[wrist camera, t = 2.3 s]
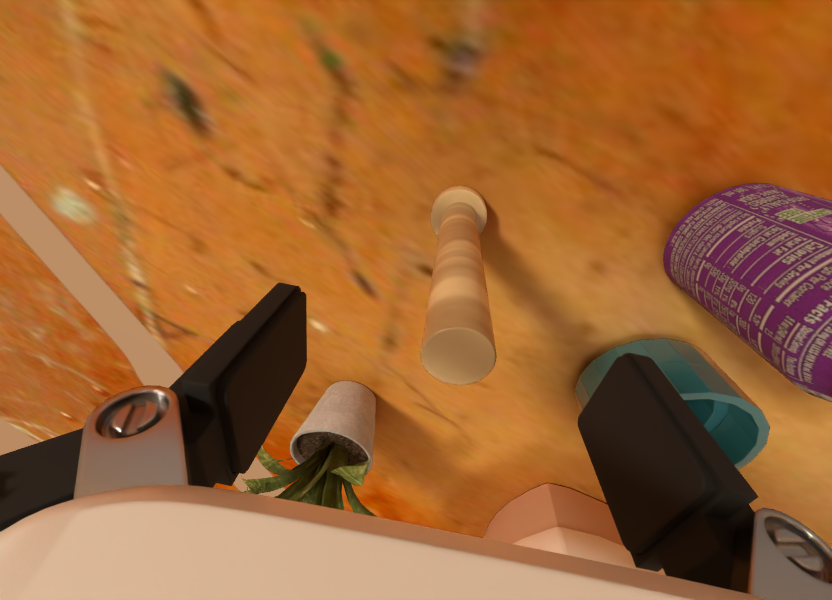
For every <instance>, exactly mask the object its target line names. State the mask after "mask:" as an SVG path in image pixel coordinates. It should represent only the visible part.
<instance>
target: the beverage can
mask: <svg viewBox="0 0 832 600" xmlns="http://www.w3.org/2000/svg"><path fill="white" fill-rule="evenodd" d="M663 261H664V267H665V270H666V272H667V274H668V276H669V278H670V279H671V280H672V281H673V282H674V283H675V284H677V285H678V286H679V287H680V288H681V289H682V290H684V291H685V292H686V293H687V294H688V295H689V296H691V297H692V298H693V299H694V300H695V301H697V302H698V303H699V304H700V305H701V306H702V307H704V308H705V309H706V310H707V311H708V312H710V313H711V314H712V315H713V316H714V317H715V318H717V319H718V320H719V321H720V322H721V323H723V324H724V325H725V326H726V327H727V328H728V329H730V330H731V331H732V332H733V333H734V334H735V335H737V336H738V337H739V338H740V339H741V340H743V341H744V342H745V343H746V344H747V345H748V346H750V347H751V348H752V349H753V350H754V351H756V352H757V353H758V354H759V355H760V356H761V357H763V358H764V359H765V360H766V361H767V362H769V363H770V364H771V365H772V366H773V367H774V368H776V369H777V370H778V371H779V372H780V373H781V374H783V375H784V376H785V377H786V378H787V379H789V380H790V381H791V382H792V383H793V384H795V385H796V386H797V387H799V388H800V389H802V390H803V391H805V392H807V393H809V394H811V395H813V396H816V397H819V398H822V399H824V400H827V401H830V402H832V201H831V200H827V199H824V198H820V197H817V196H813V195H809V194H806V193H802V192H798V191H795V190H791V189H787V188H784V187H780V186H776V185H772V184H766V183H750V184H743V185H738V186H735V187H731V188H728V189H725V190H723V191H720V192H718V193H716V194H714V195H712V196H710V197H708V198H707V199H705V200H703V201H702V202H700V203H699V204H697V205H696V206H695V207H693V208H692V209H691V210H690V211H689V212H688V213H687V214H686V215H685V216H684V217H683V218H682V219H681V220H680V221H679V222H678V223H677V225H676V226H675V227H674V229H673V231H672V232H671V234H670V236H669V238H668V240H667V243H666V246H665V249H664V257H663Z"/></svg>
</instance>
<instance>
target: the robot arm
mask: <svg viewBox="0 0 832 600" xmlns="http://www.w3.org/2000/svg"><path fill="white" fill-rule="evenodd" d="M306 362H307V334H306V294H305V293H304V292H301V289H300V287H299V286H294V285H289V284H284V283H278V284H277V285H276V286H275V287H274V288H273V289H272V290H271V291H270V292H269V293H268V294H267V295H266V296H265V297H264V298H263V299H262V300H261V301H260V302H259V303H258V304H257V305H256V306H255V307H254V308H253V309H252V310H251V311H250V312H249V313H248V314H247V315H246V316H245V317H244V318H243V319H242V320H241V321H237V322H236V323H234V324H233V325H232V326H231V327H230V328H229V329H228V330H227V331H226V332H225V333H224V334H223V335H222V336H221V337H220V338H219V339H218V340H217V341H216V342H215V343H214V344H213V345H212V346H211V347H210V348H209V349H208V350H207V351H206V352H205V353H204V354H203V355H202V356H201V357H200V358H199V359H198V360H197V361H196V362H195V363H194V364H193V365H192V366H191V367H190V368H189V369H188V370H187V371H186V372H185V373H184V374H183V375H182V376H181V377H180V378H178V380H176V381H175V383H174V384H172V385H171V386H170V387H169V388H165V387H162V386H142V387H136V388H132V389H129V390H126V391H123V392H120V393H118V394H116V395H114V396H112V397H110V398H108V399H107V400H105V401H104V402H103V403H101V404H100V405H99V406H97V407H96V408H95V409H94V410H93V412H92V413H91V414H90V415H89V416H88V417H87V420H86V422H85V425H84V427H83V428H82V429H79V430H76V431H73V432H70V433H67V434H64V435H61V436H58V437H55V438H52V439H49V440H46V441H43V442H40V443H37V444H34V445H31V446H28V447H25V448H22V449H19V450H16V451H13V452H10V453H7V454H4V455H1V456H0V600H832V549H831V548H830V547H829V546H828V545H827V544H826V543H825V542H824V541H823V540H822V539H821V538H820V537H819V536H817V535H816V534H815V533H814V532H813V531H811V530H810V529H809V528H807V527H806V526H804V525H803V524H802V523H800V522H799V521H797V520H795V519H794V518H792V517H790V516H788V515H786V514H784V513H782V512H779V511H776V510H774V509H767V508H762V509H760V510H757V511H756V512H754V511H753V510H752V508H751V507H750V506H749V503H751V502H752V501H753V500H755V499H756V498H757V497H758V496H757V494H756V493H755V492H754V490H753V489H752V488H751V487H750V485H749V484H748V483H747V481H746V480H745V479H744V477H743V476H742V475H741V474H740V472H739V471H738V470H737V468H736V467H735V466H734V464H733V463H732V462H731V461H730V459H729V458H728V457H727V455H726V454H725V453H724V452H723V450H722V449H721V448H720V446H719V445H718V444H717V442H716V441H715V440H714V439H713V437H712V436H711V435H710V433H709V432H708V431H707V429H706V428H705V427H704V426H703V424H702V423H701V422H700V420H699V419H698V418H697V417H696V415H695V414H694V413H693V411H692V410H691V409H690V407H689V406H688V405H687V404H686V402H685V401H684V400H683V398H682V397H681V396H680V394H679V393H678V392H677V391H676V389H675V388H674V387H673V385H672V384H671V383H670V382H669V380H668V379H667V378H666V376H665V375H664V374H663V372H662V371H661V370H660V369H659V367H658V366H657V365H656V363H655V362H654V361H653V360H652V359H651V358H650V357H648V356H643V355H638V354H633V353H625V354H624V355H623V356H619V357H617V358H616V360H615V361H614V363H613V364H612V366H611V367H610V369H609V370H608V372H607V373H606V375H605V376H604V378H603V380H602V381H601V383H600V384H599V386H598V387H597V389H596V390H595V392H594V393H593V395H592V397H591V398H590V400H589V401H588V403H587V404H586V406H585V407H584V409H583V410H582V412H581V414H580V415H579V418H578V427H579V430H580V433H581V435H582V438H583V441H584V443H585V446H586V449H587V451H588V454H589V456H590V459H591V462H592V464H593V467H594V470H595V472H596V475H597V478H598V480H599V483H600V485H601V488H602V491H603V493H604V496H605V499H606V501H607V504H608V506H609V509H610V512H611V514H612V517H613V520H614V522H615V525H616V528H617V530H618V533H619V535H620V538H621V541H622V543H623V545H624V547H625V548H626V549H627V550H628V551H629V552H630V553H631V556H632V558H633V561H634V564H635V566H636V568H641V569H646V570H651V571H656V572H658V571H660V570H661V569H662V568H663V570H664V572H665V574H666V575H661V574H656V573H651V572H646V571H642V570H637V569H632V568H627V567H622V566H617V565H613V564H608V563H603V562H598V561H593V560H588V559H584V558H579V557H574V556H569V555H564V554H559V553H554V552H550V551H545V550H540V549H535V548H530V547H525V546H520V545H515V544H510V543H505V542H500V541H495V540H490V539H485V538H480V537H475V536H470V535H465V534H460V533H455V532H450V531H445V530H440V529H435V528H430V527H425V526H420V525H415V524H410V523H405V522H400V521H395V520H390V519H385V518H380V517H374V516H369V515H364V514H359V513H354V512H349V511H344V510H339V509H334V508H329V507H323V506H318V505H313V504H308V503H302V502H297V501H291V500H285V499H280V498H274V497H268V496H263V495H257V494H251V493H246V492H240V491H234V490H226V489H218V488H213V487H214V485H215V483H219V484H224V485H229V486H232V484H233V482H234V481H235V479H236V477H237V476H238V474H239V473H242V474H244V473H245V472H246V471H247V470H248V469H249V467H250V465H251V464H252V462H253V460H254V458H255V457H256V455H257V453H258V451H259V450H260V448H261V446H262V444H263V443H264V441H265V439H266V437H267V436H268V434H269V432H270V430H271V429H272V427H273V425H274V423H275V422H276V420H277V418H278V416H279V414H280V413H281V411H282V409H283V407H284V406H285V404H286V402H287V400H288V399H289V397H290V395H291V393H292V392H293V390H294V388H295V386H296V385H297V383H298V381H299V379H300V378H301V376H302V374H303V372H304V370H305V367H306Z"/></svg>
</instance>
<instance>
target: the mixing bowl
mask: <svg viewBox="0 0 832 600" xmlns="http://www.w3.org/2000/svg"><path fill="white" fill-rule="evenodd" d="M625 353H633V354H638V355H643V356H648V357H650V358H651V359H652V360H653V361H654V362H655V363H656V365H657V366H658V367H659V369H660V370H661V371H662V372H663V374H664V375H665V376H666V378H667V379H668V380H669V382H670V383H671V384H672V385H673V387H674V388H675V389H676V391H677V392H678V393H679V394H680V396H681V397H682V398H683V400H684V401H685V402H686V404H687V405H688V406H689V407H690V409H691V410H692V411H693V413H694V414H695V415H696V417H697V418H698V419H699V420H700V422H701V423H702V424H703V426H704V427H705V428H706V429H707V431H708V432H709V433H710V435H711V436H712V437H713V439H714V440H715V441H716V442H717V444H718V445H719V446H720V448H721V449H722V450H723V452H724V453H725V454H726V455H727V457H728V458H729V459H730V461H731V462H732V463H733V464H734V466H735V467H736V468H737V470H738V469H740V468H741V467H743V466H745V465H746V464H748V463H750V462H751V461H752V460H753V459H754V458H755V457H756V456H757V455H758V454H759V453H760V451H761V450H762V449H763V448H764V447H765V446H766V444H767V439H768V435H769V430H770V426H769V424H768V422H767V420H766V418H765V416H764V414H763V412H762V410H761V409H760V408H759V407H758V406H757V405H756V404H755V403H754V402H753V401H752V400H751V399H750V398H749V397H748V396H747V395H746V394H745V393H744V392H743V391H742V390H741V389H740V388H739V387H738V386H737V385H736V383H735V382H734V381H733V380H732V379H731V378H730V377H729V376H728V375H727V374H726V373H725V372H724V371H723V370H722V369H721V368H720V367H719V366H718V365H717V364H716V363H715V362H714V361H713V360H712V359H711V358H710V357H709V356H708V355H707V354H706V353H705V352H703V351H701V350H700V349H698V348H697V347H695V346H693V345H692V344H690V343H687V342H682V341H677V340H672V339H668V338H662V339H647V340H638V341H634V342H631V343H628V344H625V345H622V346H618V347H615V348H613V349H611V350H609V351H608V352H606V353H604V354H603V355H601V356H599V357H598V358H596V359H594V361H592V362H591V363H590V364H589V365H588V367H587V368H586V369H585V370H584V371H583V372H582V373H581V374H580V376H579V379H578V382H577V385H576V388H575V397H576V402H577V406H578V409H579V411H580V414H581V412H582V410H583V409H584V407H585V406H586V404H587V403H588V401H589V400H590V398H591V397H592V395H593V393H594V392H595V390H596V389H597V387H598V386H599V384H600V383H601V381H602V380H603V378H604V376H605V375H606V373H607V372H608V370H609V369H610V367H611V366H612V364H613V363H614V361H615V360H616V358H617V357H619V356H623V355H624V354H625Z"/></svg>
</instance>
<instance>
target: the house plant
mask: <svg viewBox="0 0 832 600" xmlns="http://www.w3.org/2000/svg"><path fill="white" fill-rule="evenodd" d="M375 413H376V398H375V396H374V394H373V393H372V392H371V391H370V390H369V389H368V388H367V387H365V386H364V385H361V384H359V383H356V382H352V381H340V382H336V383H334V384H332V385H331V386H330V387H329V388H328V389H327V390H326V392H325V393H324V395H323V396H322V398H321V399H320V400H319V402H318V403H317V405H316V406H315V407H314V409H313V410H312V412H311V413H310V414H309V416H308V417H307V419H306V420H305V421H304V423H303V424H302V426H301V427H300V428H299V430H298V431H297V433H296V434H295V435H294V437H293V439H292V440H291V442H290V452H291V455H292V457H293V458H290V459H294V460H295V461H296V463H297V464H298V466H296V467H295V468H293V469H292V470H288V469H286V468H284V467H283V466H281V465H280V464H279V463H277V462H280V461H284V460H277V459H274V458H272V457H271V456H270V455H269V454H268V453H267V452H266V451H265V450H264V448H263V446H261V448H260V450H259V452H258V455H259V459H260V461H261V463H262V465H263V466H264V467H265V468H266V469H267V470H269V471H271V472H273V473H275V474H278V475H281V476H277V477H271V478H263V479H251V480H245V479H243V481H244V482H245V483H246V484H247V486H248V487H249V488H250V489H251V490H248V489H247V491H245V492H246V493H251V494H259V493H264V492H270V491H274V490H277V489H279V488H282V487H285V486H287V485H288V484H290V483H292V482H294V481H295V482H294V483H293V484H292V485H291V486H289V487H288V488H287V489H286V490H285V491H283V492H282V493H281V494H280V495H278V496H276V497H274V498H280V499H285V500H291V501H297V502H302V503H308V504H313V505H318V506H323V507H329V508H334V509H339V510H344V506H343V500H342V493H341V491H342V481H343V485H344V488H345V492H346V495H347V498H348V501H349V503H350V505H351V507H352V509H353V511H354V513H359V514H364V515H369V516H374V517H377V516H375V515H374V514H373V513H371V512H370V511H369V510H368V509H366V508H365V507H364V506H363V505H362V504H361V503H360V501H359V500H358V498H357V496H356V495H355V493H354V491H353V488H352V486H351V484H353V485H357V486H360V485H362V484H363V482H364V476H365V475H366V474H367V473H368V472H369V471H370V470H371V466H372V462H373V446H374V429H375ZM287 460H289V459H287ZM302 475H303V476H302ZM298 478H299V479H298ZM297 479H298V480H297ZM296 480H297V481H296Z"/></svg>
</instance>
